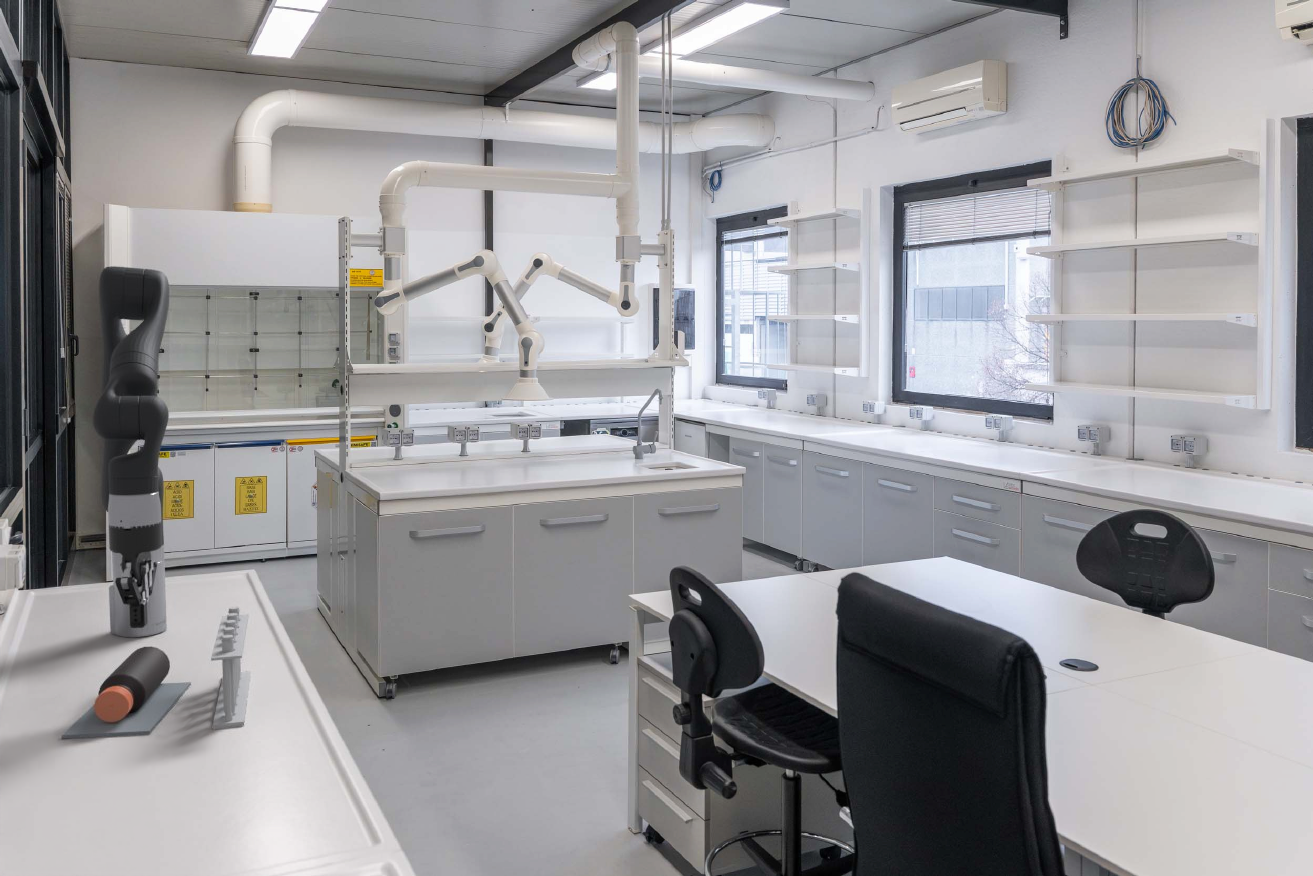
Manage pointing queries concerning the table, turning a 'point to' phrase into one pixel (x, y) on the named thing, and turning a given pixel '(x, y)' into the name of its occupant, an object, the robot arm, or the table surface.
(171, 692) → the slate mat
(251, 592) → the table surface
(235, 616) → the test tube rack
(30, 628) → the table surface
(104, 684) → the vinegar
